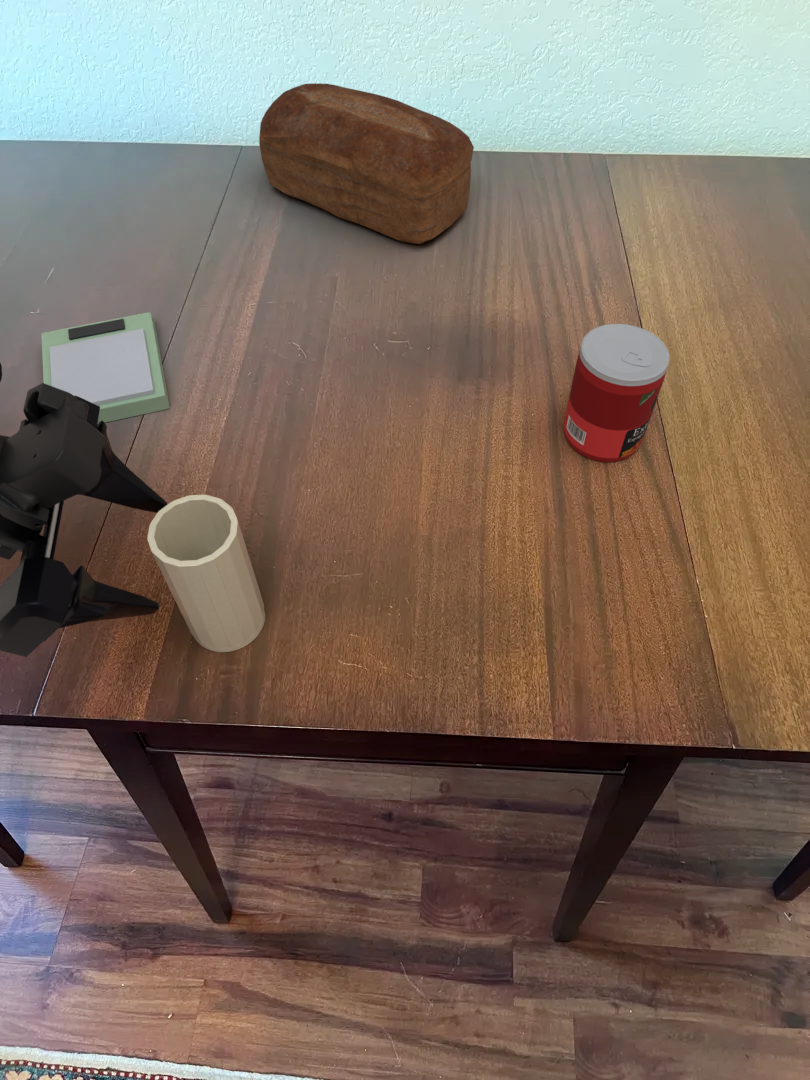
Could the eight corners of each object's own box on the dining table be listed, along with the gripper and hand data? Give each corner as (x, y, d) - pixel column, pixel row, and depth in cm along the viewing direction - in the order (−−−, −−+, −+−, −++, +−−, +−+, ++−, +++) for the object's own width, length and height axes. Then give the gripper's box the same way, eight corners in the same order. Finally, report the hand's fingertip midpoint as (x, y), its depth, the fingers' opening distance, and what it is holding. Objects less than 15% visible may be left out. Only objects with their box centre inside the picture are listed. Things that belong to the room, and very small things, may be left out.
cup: (223, 667, 64) (185, 582, 54) (174, 621, 67) (129, 532, 56) (280, 616, 67) (255, 526, 56) (232, 574, 69) (199, 480, 59)
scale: (170, 409, 82) (163, 390, 79) (52, 434, 80) (42, 416, 78) (155, 325, 89) (149, 307, 87) (47, 347, 88) (38, 328, 85)
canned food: (634, 473, 76) (663, 389, 67) (553, 452, 77) (571, 368, 68) (648, 419, 80) (677, 333, 71) (571, 400, 82) (590, 315, 73)
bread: (424, 264, 96) (425, 167, 86) (252, 193, 105) (235, 98, 95) (484, 210, 102) (491, 115, 92) (317, 148, 112) (307, 55, 102)
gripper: (-50, 531, 39) (218, 617, 49) (15, 298, 50) (224, 406, 60) (-122, 625, 45) (129, 686, 55) (-50, 399, 56) (149, 483, 66)
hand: (160, 556), depth 58 cm, fingers open, 9 cm apart
